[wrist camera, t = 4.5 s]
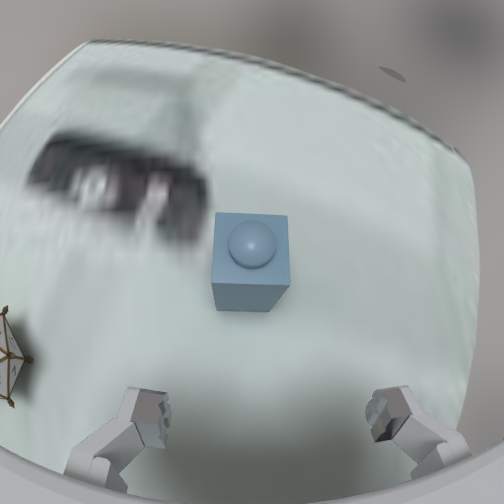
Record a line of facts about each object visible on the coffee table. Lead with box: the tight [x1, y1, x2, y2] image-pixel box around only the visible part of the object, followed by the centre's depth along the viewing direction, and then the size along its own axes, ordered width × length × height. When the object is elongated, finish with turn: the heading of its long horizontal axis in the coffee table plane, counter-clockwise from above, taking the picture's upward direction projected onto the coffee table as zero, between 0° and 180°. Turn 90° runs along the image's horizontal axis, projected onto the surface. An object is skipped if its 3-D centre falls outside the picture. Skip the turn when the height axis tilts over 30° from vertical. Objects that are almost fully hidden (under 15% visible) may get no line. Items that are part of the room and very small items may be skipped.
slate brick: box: [211, 212, 290, 312], centre depth 19 cm, size 4×4×9 cm
